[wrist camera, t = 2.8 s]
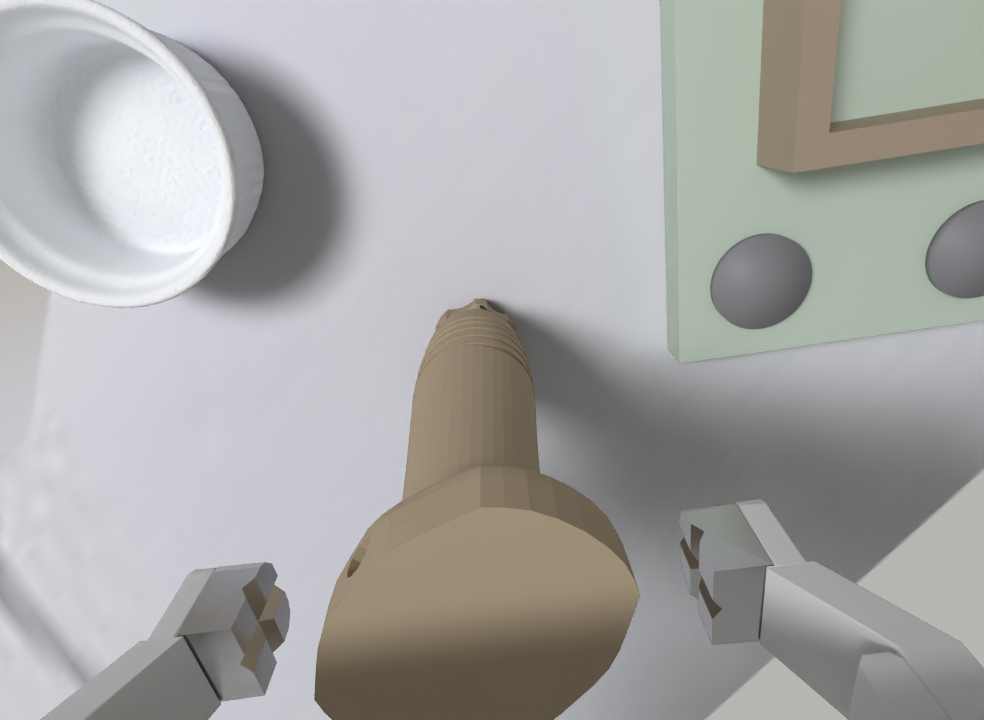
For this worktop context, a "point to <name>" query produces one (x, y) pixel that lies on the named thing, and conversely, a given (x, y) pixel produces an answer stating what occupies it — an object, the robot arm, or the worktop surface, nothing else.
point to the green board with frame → (820, 170)
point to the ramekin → (116, 156)
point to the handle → (475, 558)
